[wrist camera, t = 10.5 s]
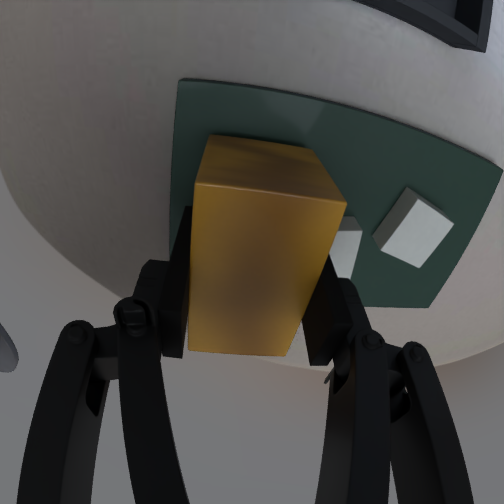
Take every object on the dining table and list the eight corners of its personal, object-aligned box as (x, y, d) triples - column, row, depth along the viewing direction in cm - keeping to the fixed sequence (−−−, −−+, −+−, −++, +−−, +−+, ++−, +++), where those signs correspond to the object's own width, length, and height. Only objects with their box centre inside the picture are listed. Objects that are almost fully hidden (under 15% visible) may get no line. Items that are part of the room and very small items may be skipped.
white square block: (371, 235, 18) (380, 250, 17) (406, 186, 16) (418, 198, 15) (410, 254, 20) (419, 268, 18) (442, 211, 17) (454, 224, 16)
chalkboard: (172, 280, 22) (170, 292, 21) (182, 78, 13) (178, 80, 12) (423, 298, 25) (428, 308, 24) (494, 163, 16) (503, 170, 15)
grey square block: (285, 268, 20) (288, 285, 19) (289, 216, 17) (294, 231, 16) (343, 266, 20) (349, 282, 19) (354, 216, 18) (363, 230, 16)
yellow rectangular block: (196, 277, 19) (187, 351, 14) (209, 133, 13) (194, 181, 9) (275, 284, 19) (285, 357, 15) (312, 148, 14) (348, 203, 10)
